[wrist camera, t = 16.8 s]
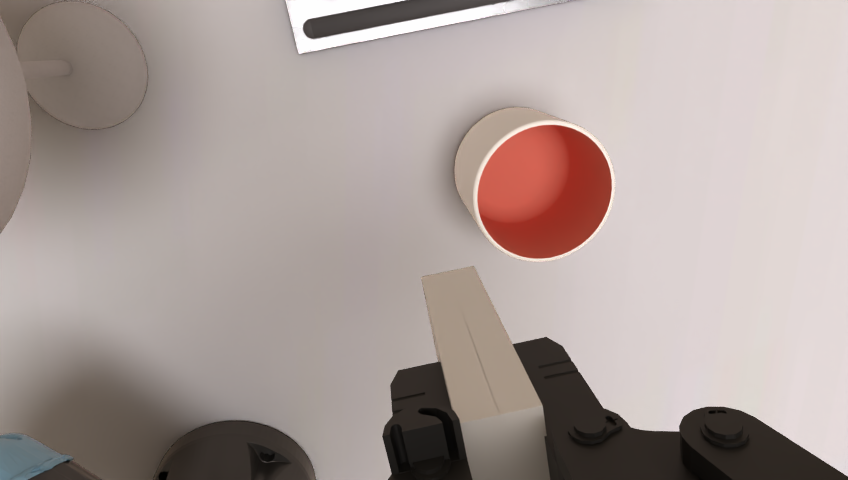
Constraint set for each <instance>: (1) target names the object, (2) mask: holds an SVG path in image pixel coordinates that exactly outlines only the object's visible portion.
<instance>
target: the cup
mask: <svg viewBox="0 0 848 480" xmlns="http://www.w3.org/2000/svg"><path fill="white" fill-rule="evenodd" d="M454 174H455V182H456V187H457V190H458V193H459V195H460V197H461V199H462V201H463V202H464V204H465V206H466V207H467V209H468V210H469V212H470V213H471V215H472V217H473V218H474V220H475V221H476V223H477V225H478V226H479V228H480V229H481V231H482V232H483V234H484V235H485V237H486V238H487V239H488V240H489V242H490V243H491V244H493V245H494V246H495V247H496V248H497V249H499V250H500V251H501V252H503V253H505V254H507V255H509V256H511V257H513V258H516V259H520V260H524V261H531V262H544V261H551V260H556V259H559V258H562V257H565V256H567V255H569V254H571V253H573V252H575V251H577V250H578V249H580V248H581V247H583V246H584V245H585V244H587V243H588V242H589V241H590V240H591V239H592V238H593V237H594V236H595V235H596V234H597V233H598V231H599V230H600V229H601V227H602V226H603V224H604V222H605V221H606V219H607V217H608V215H609V213H610V210H611V207H612V204H613V199H614V194H615V175H614V169H613V166H612V162H611V160H610V157H609V155H608V153H607V151H606V150H605V148H604V147H603V145H602V144H601V143H600V142H599V140H598V139H597V138H596V137H595V136H593V135H592V134H591V133H590V132H588V131H587V130H585V129H584V128H582V127H580V126H578V125H576V124H573V123H570V122H567V121H565V120H562V119H559V118H556V117H554V116H551V115H548V114H545V113H543V112H540V111H537V110H534V109H530V108H523V107H513V108H506V109H502V110H498V111H496V112H493V113H491V114H489V115H487V116H486V117H484V118H482V119H481V120H480V121H479V122H477V123H476V124H475V125H474V126H473V127H472V128H471V129H470V130H469V132H468V133H467V134H466V136H465V137H464V139H463V140H462V142H461V144H460V146H459V149H458V152H457V155H456V159H455V169H454Z"/></svg>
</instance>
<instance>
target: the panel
mask: <svg viewBox="0 0 848 480" xmlns="http://www.w3.org/2000/svg"><path fill="white" fill-rule="evenodd" d="M399 1H404V0H286V5H287V9H288V13H289V17H290V21H291V25H292V29H293V33H294V37H295V41H296V45H297V49H298V53H299V54H302V53H307V52H312V51H317V50H322V49H327V48H332V47H337V46H342V45H348V44H353V43H358V42H363V41H368V40H373V39H378V38H383V37H388V36H393V35H399V34H404V33H409V32H414V31H419V30H424V29H429V28H434V27H439V26H445V25H450V24H455V23H460V22H465V21H470V20H475V19H480V18H485V17H490V16H496V15H501V14H506V13H511V12H516V11H521V10H526V9H531V8H536V7H542V6H547V5H552V4H557V3H562V2H567V1H572V0H511V1H506V2H501V3H496V4H491V5H485V6H480V7H475V8H470V9H465V10H460V11H455V12H450V13H444V14H439V15H434V16H429V17H424V18H419V19H414V20H409V21H403V22H398V23H393V24H388V25H383V26H378V27H373V28H368V29H362V30H357V31H352V32H347V33H342V34H337V35H332V36H327V37H321V38H316V39H310V38H308V37H307V36H306V35H305V34H304V32H303V24H304V22H305V21H306V20H308V19H311V18H316V17H321V16H327V15H332V14H337V13H342V12H347V11H352V10H358V9H363V8H368V7H373V6H378V5H383V4H388V3H394V2H399Z"/></svg>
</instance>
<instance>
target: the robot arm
mask: <svg viewBox="0 0 848 480" xmlns="http://www.w3.org/2000/svg"><path fill="white" fill-rule="evenodd" d="M421 279H422V284H423V289H424V294H425V299H426V304H427V309H428V314H429V319H430V324H431V328H432V333H433V338H434V343H435V348H436V353H437V358H438V362H436V363H431V364H426V365H422V366H417V367H412V368H408V369H403V370H398V372H397V374H396V376H395V378H394V379H393V381H392V383H391V385H390V386H391V400H392V412H393V417H392V418H391V419H390V420H389V422H388V423H387V424H386V425H385V427H384V432H383V436H382V437H383V440H384V444H385V448H386V452H387V456H388V460H389V464H390V468H391V472H392V475H391V476H390V478H389V479H388V480H848V477H847V476H846V475H844V474H843V473H841V472H840V471H838V470H836V469H835V468H833V467H832V466H830V465H829V464H827V463H825V462H824V461H822V460H821V459H819V458H818V457H816V456H815V455H813V454H811V453H810V452H808V451H807V450H805V449H804V448H802V447H800V446H799V445H797V444H796V443H794V442H793V441H791V440H789V439H788V438H786V437H785V436H783V435H782V434H780V433H779V432H777V431H775V430H774V429H772V428H771V427H769V426H768V425H766V424H764V423H763V422H761V421H760V420H758V419H757V418H755V417H753V416H751V415H749V414H746V413H744V412H742V411H740V410H735V409H731V408H726V407H704V408H700V409H696V410H693V411H691V412H690V413H689V414H687V415H686V416H684V417H683V419H682V421H681V424H680V426H679V429H680V432H668V431H645V430H639V429H634V428H630V426H629V425H628V423H627V422H626V421H625V420H624V419H623V418H621V417H620V416H619V415H618V414H616V413H614V412H611V411H609V410H607V409H603V407H602V406H601V404H600V403H599V401H598V400H597V398H596V397H595V395H594V393H593V392H592V390H591V389H590V387H589V386H588V384H587V383H586V381H585V380H584V378H583V377H582V375H581V374H580V372H578V369H577V368H576V366H575V365H574V363H573V362H571V359H570V357H569V356H568V354H567V353H566V351H565V349H564V348H563V346H561V345H559V344H558V343H556V342H554V341H552V340H551V339H549V338H547V337H544V338H540V339H535V340H530V341H526V342H521V343H516V344H512V343H511V341H510V339H509V336H508V334H507V332H506V330H505V328H504V326H503V324H502V322H501V320H500V318H499V316H498V314H497V312H496V310H495V308H494V306H493V304H492V302H491V300H490V298H489V296H488V294H487V292H486V290H485V288H484V286H483V284H482V282H481V280H480V278H479V276H478V274H477V272H476V270H475V268H474V266H471V267H466V268H461V269H457V270H452V271H447V272H442V273H438V274H433V275H428V276H423V277H421ZM73 459H74V458H73V457H71V456H70V455H67V454H65V455H61V454H59V453H58V452H56V451H54V450H52V449H51V448H49V447H47V446H45V445H44V444H42V443H40V442H38V441H37V440H35V439H33V438H31V437H29V436H27V435H24V434H20V433H9V434H4V435H0V480H102V479H100V478H99V477H97V476H96V475H94V474H92V473H91V472H89V471H88V470H86V469H85V468H83V467H82V466H80V465H79V464H77V463H76V462H74V461H73ZM153 480H315V474H314V470H313V467H312V465H311V462H310V460H309V459H308V457H307V455H306V454H305V453H304V451H303V450H302V449H301V448H300V447H299V446H298V445H297V444H296V443H295V442H294V441H293V440H291V439H290V438H289V437H287V436H286V435H284V434H282V433H281V432H279V431H277V430H275V429H272V428H270V427H267V426H264V425H260V424H256V423H251V422H242V421H228V422H219V423H214V424H210V425H206V426H203V427H201V428H198V429H196V430H194V431H192V432H190V433H188V434H186V435H185V436H183V437H182V438H181V439H179V440H178V441H177V442H176V443H175V444H174V445H173V446H172V447H171V448H170V449H169V450H168V452H167V453H166V455H165V456H164V458H163V460H162V462H161V464H160V466H159V468H158V470H157V472H156V474H155V476H154V479H153Z"/></svg>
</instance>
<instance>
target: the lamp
mask: <svg viewBox="0 0 848 480" xmlns="http://www.w3.org/2000/svg"><path fill="white" fill-rule="evenodd" d="M147 80H148V73H147V65H146V60H145V56H144V54H143V51H142V49H141V46H140V45H139V43H138V41H137V39H136V38H135V36H134V35H133V34H132V32H131V31H130V30H129V28H128V27H127V26H126V25H125V24H124V23H123V22H122V21H120V20H119V19H118V18H116V17H115V16H114V15H113V14H111V13H109V12H108V11H106V10H104V9H102V8H100V7H97V6H95V5H92V4H88V3H84V2H77V1H64V2H58V3H54V4H50V5H48V6H46V7H44V8H42V9H40V10H39V11H37V12H36V13H35V14H33V15H32V17H31V18H30V19H29V20H28V21H27V22H26V24H25V25H24V27H23V29H22V31H21V33H20V36H19V39H18V44H17V52H16V49H15V47H14V44H13V42H12V40H11V38H10V36H9V34H8V31H7V29H6V27H5V25H4V23H3V21H2V18H1V16H0V233H1V232H2V230H3V229H4V228H5V226H6V225H7V223H8V222H9V220H10V219H11V217H12V215H13V213H14V210H15V208H16V206H17V203H18V201H19V199H20V196H21V194H22V191H23V189H24V186H25V181H26V176H27V171H28V167H29V162H30V157H31V127H32V121H31V114H30V107H29V100H28V92H29V94H30V95H31V97H32V98H33V99H34V100H35V101H36V103H37V104H38V105H39V106H40V107H41V108H43V109H44V110H45V111H46V112H47V113H48V114H50V115H51V116H53V117H54V118H56V119H58V120H60V121H62V122H64V123H66V124H69V125H71V126H74V127H79V128H83V129H104V128H108V127H112V126H115V125H117V124H119V123H122V122H123V121H125V120H126V119H128V118H129V117H130V116H131V115H132V114H133V113H134V112H135V111H136V110H137V108H138V107H139V106H140V104H141V102H142V100H143V98H144V96H145V92H146V88H147ZM27 90H28V92H27Z"/></svg>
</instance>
